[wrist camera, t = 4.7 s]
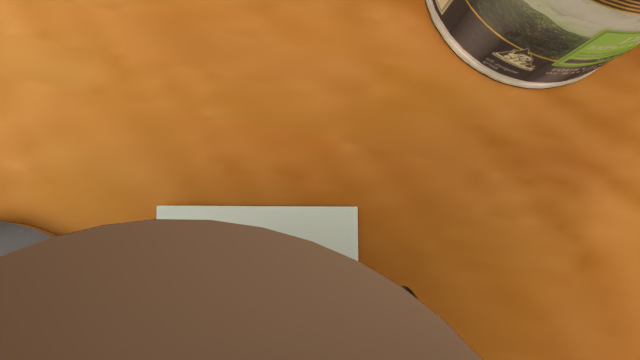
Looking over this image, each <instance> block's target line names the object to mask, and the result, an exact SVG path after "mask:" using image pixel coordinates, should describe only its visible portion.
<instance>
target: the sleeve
mask: <svg viewBox="0 0 640 360" xmlns="http://www.w3.org/2000/svg"><path fill="white" fill-rule="evenodd" d="M0 360H482V359H481V358H480V357H479V356H478V355H477V354H476V352H475V351H474V350H473V349H472V348H471V347H470V346H469V345H468V344H467V343H466V342H465V341H464V340H463V339H462V338H461V337H460V336H459V335H458V334H457V333H456V332H455V331H454V330H453V329H452V328H451V327H450V326H449V325H448V324H447V323H446V322H445V321H444V320H443V319H442V318H441V317H439V316H438V315H437V314H436V313H434V312H433V311H432V310H431V309H429V308H428V307H427V306H426V305H424V304H423V303H422V302H421V301H419V300H418V299H417V298H415V297H414V296H413V295H412V294H410V293H409V292H408V291H407V290H405V289H404V288H403V287H401V286H399V285H398V284H396V283H394V282H393V281H391V280H389V279H388V278H386V277H384V276H383V275H381V274H379V273H378V272H376V271H374V270H373V269H371V268H369V267H368V266H366V265H364V264H363V263H361V262H359V261H357V260H354V259H352V258H350V257H347V256H345V255H343V254H340V253H338V252H336V251H333V250H331V249H329V248H327V247H324V246H322V245H320V244H317V243H315V242H313V241H309V240H306V239H302V238H299V237H295V236H291V235H288V234H284V233H281V232H277V231H274V230H270V229H267V228H263V227H257V226H250V225H243V224H236V223H229V222H222V221H215V220H188V219H153V220H144V221H136V222H127V223H118V224H109V225H102V226H98V227H93V228H89V229H85V230H81V231H77V232H73V233H69V234H65V235H61V236H56V237H52V238H48V239H45V240H43V241H40V242H38V243H35V244H32V245H30V246H27V247H24V248H22V249H19V250H16V251H14V252H11V253H8V254H6V255H3V256H1V257H0Z"/></svg>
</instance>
